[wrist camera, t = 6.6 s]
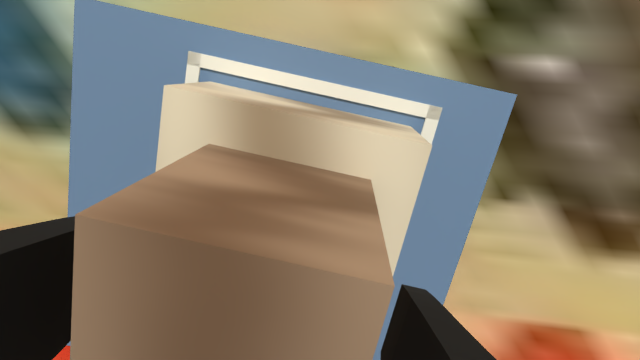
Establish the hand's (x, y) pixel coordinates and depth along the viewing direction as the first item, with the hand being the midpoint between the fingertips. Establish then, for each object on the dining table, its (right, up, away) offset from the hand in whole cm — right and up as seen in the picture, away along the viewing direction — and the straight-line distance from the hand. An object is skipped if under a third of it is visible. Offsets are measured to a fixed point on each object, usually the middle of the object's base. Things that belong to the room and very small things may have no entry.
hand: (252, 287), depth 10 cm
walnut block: (0, +1, +3) cm, 3 cm away
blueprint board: (-1, 0, +8) cm, 8 cm away
